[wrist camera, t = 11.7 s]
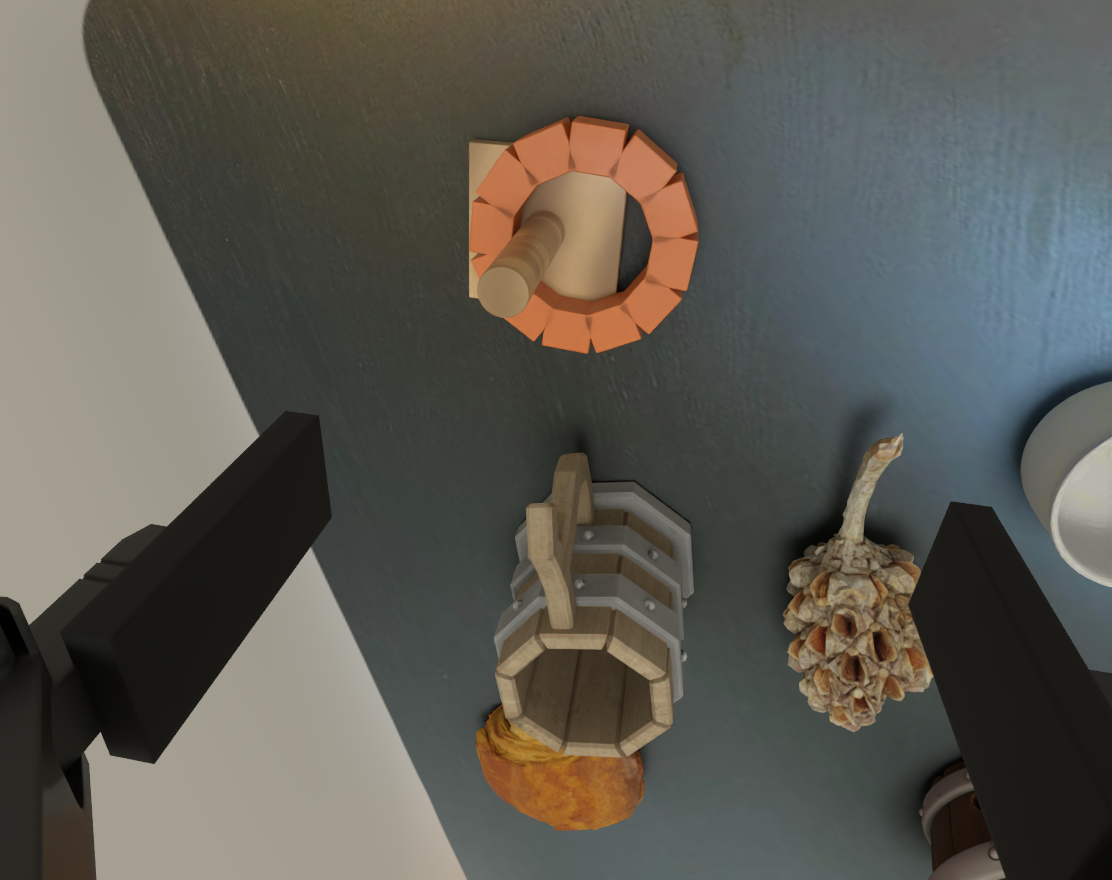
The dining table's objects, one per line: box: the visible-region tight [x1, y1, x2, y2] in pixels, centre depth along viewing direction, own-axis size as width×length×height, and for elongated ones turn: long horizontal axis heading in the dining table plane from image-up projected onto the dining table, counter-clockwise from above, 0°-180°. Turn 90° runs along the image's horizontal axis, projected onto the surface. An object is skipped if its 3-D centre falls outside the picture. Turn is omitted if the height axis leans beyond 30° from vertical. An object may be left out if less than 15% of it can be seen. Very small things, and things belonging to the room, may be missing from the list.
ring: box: [469, 116, 699, 354], centre depth 41 cm, size 12×12×2 cm
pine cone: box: [783, 433, 934, 732], centre depth 46 cm, size 22×10×10 cm, turn 11°
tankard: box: [494, 453, 694, 758], centre depth 46 cm, size 20×13×15 cm, turn 8°
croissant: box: [476, 705, 645, 830], centre depth 63 cm, size 14×16×8 cm
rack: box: [469, 139, 628, 318], centre depth 38 cm, size 9×9×12 cm
